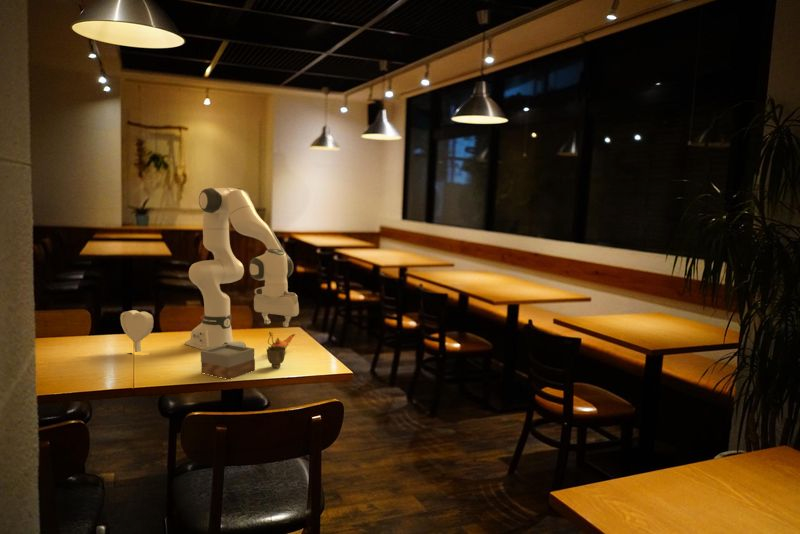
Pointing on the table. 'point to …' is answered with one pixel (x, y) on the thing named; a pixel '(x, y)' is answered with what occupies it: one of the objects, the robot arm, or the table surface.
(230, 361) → the tower block high
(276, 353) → the cup
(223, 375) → the tower block low
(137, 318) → the heart sculpture
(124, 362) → the table surface
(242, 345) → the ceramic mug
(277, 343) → the magic lamp
